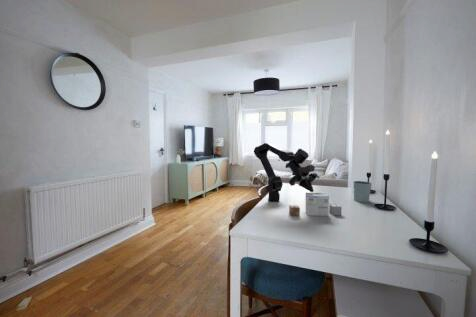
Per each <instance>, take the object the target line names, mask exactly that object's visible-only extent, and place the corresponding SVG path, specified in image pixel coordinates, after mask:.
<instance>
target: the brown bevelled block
mask: <svg viewBox="0 0 476 317" xmlns="http://www.w3.org/2000/svg"><path fill="white" fill-rule="evenodd" d="M288 208H289V209H288V215H289V216H290V217H300V212H301V211H300V210H301V208H300V207H299V205H297V204H289V205H288Z"/></svg>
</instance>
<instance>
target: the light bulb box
mask: <svg viewBox="0 0 476 317" xmlns="http://www.w3.org/2000/svg"><path fill="white" fill-rule="evenodd" d="M329 200H330V195H329V194H327V193H326V192H305V213H306V215H307V216H315V217H316V216H318V217H319V216H320V217H328V216H329V214H330V212H329V204H330V201H329Z"/></svg>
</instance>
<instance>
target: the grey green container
mask: <svg viewBox="0 0 476 317" xmlns="http://www.w3.org/2000/svg"><path fill="white" fill-rule="evenodd" d="M372 185H373V184H372V182H369V181H365V180H364V181H363V180H356V181H355V180H354V181H353V200H354V201H355V202H359V203H369V202H370V197H371V189H372Z"/></svg>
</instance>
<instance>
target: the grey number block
mask: <svg viewBox="0 0 476 317" xmlns="http://www.w3.org/2000/svg"><path fill="white" fill-rule="evenodd" d="M329 214H330V215H332V216H342V206H341V205H340V204H339V203H337V204H336V203H335V204H334V203H329Z"/></svg>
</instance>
